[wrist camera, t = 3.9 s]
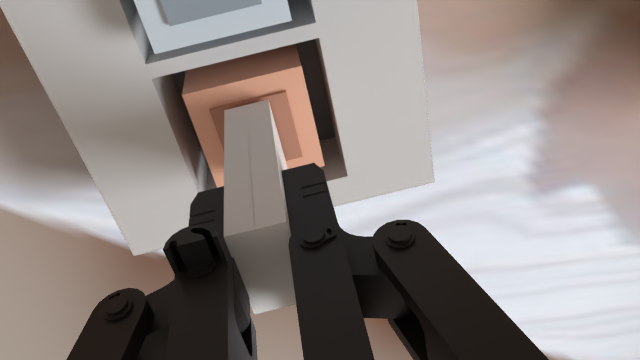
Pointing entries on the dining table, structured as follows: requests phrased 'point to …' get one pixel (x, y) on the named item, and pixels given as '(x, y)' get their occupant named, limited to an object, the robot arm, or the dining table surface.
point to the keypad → (169, 67)
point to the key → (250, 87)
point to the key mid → (205, 19)
